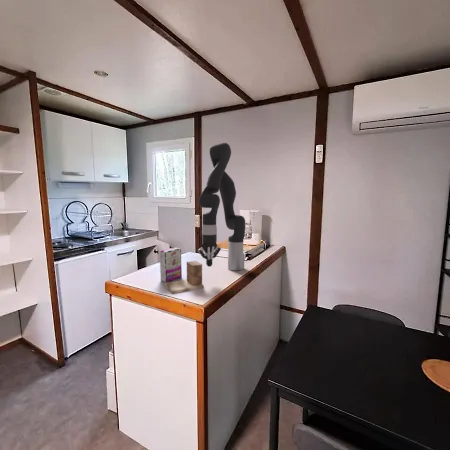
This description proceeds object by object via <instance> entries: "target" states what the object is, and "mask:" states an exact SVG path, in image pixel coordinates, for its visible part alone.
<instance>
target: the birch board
mask: <svg viewBox="0 0 450 450" xmlns="http://www.w3.org/2000/svg"><path fill="white" fill-rule="evenodd" d="M164 287H166V288H167V290H168V291H169V292H170V293H171V294H178V293H182V292H188V291H193V290H194V291H195V290H198V289H203V288H205V286H204V284H203V283H202V284H199V285H194V286H193V285H191V284H190V283H189V282H188V281H187V279H181V280H174V281H169V282H164Z"/></svg>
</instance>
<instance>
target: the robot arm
mask: <svg viewBox="0 0 450 450" xmlns="http://www.w3.org/2000/svg"><path fill="white" fill-rule="evenodd" d="M209 155H210V161H211V163H212V166H213V169H212V170H211V172H210V173H209V175H208V177H207V182H206V185H205V187H204V188H203V191H202V192H201V194H200V196H199V198H198V204H199V207H201V208H204V209H211V210H210V211H209V212H208V211H207V212H204V213H203V214H202V225H201V227H202V228H201V245H200V246H201V247H200V248H197V252H198V253H199V255H200V256H201V257H202V258H203V259H205V261H206V262H205V264H206V266H207V267H212V266H213V259H215V258H217V255H219V254H220V253H219V252H220V251H221V250H222V249H221V247H219V246H218V243H217V240H218V239H217V238H218V235H217V234H218V231H217V230H218V229H217V228H218V227H217V215H218V210H219V208H220V203H221V201H222V206H223V207H222V208H223V214H224V221H225V225H226V227H227V229H229V230H231V231H233V234H232V235H230V236H228V237H227V238H228V239H227V240H228V241H227V242H228V243H227V244H228V247H227V248H228V249H227V250H228V251H227V252H228V254H227V268H228V270H230V271H234V272H235V271H242V270H244V269H245V258H246V256H245V253H244V240H245V237H246V219H245V217H244V216H243V215H238V214H235V210H234V203H235V200H236V195H237V191H236V186H235V181H234V180H233V179H232V178H231V176H230V174H228V173H227V172H226V169H227V165H228V164H229V163H230V162H229V161H230V159H231V155H232V149H231V146H230V144H228V142H222V143H217V144H212V145H211V146H210V147H209ZM217 193H220V196H219V194H217ZM220 197H221V199H220Z"/></svg>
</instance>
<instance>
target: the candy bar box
mask: <svg viewBox="0 0 450 450" xmlns="http://www.w3.org/2000/svg"><path fill="white" fill-rule="evenodd" d="M159 264H160V265H159V267H160V269H159V270H160V271H159V272H160V281H161V282H163V283H169V282H173V281H176V280H177V279H181V278H182V276H183V275H182V274H183V273H182V248H179V247H176V246H175V247H172V248H171V247H170V248H167V249H166V248H165V249H161V250H159Z"/></svg>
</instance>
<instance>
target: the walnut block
mask: <svg viewBox="0 0 450 450" xmlns="http://www.w3.org/2000/svg"><path fill="white" fill-rule="evenodd" d="M186 280H187V281H188V282H189V283H190V284H191V285H193V286H194V285H199V284H203V263H200V262H198V261H197V260H191V261H186Z"/></svg>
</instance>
